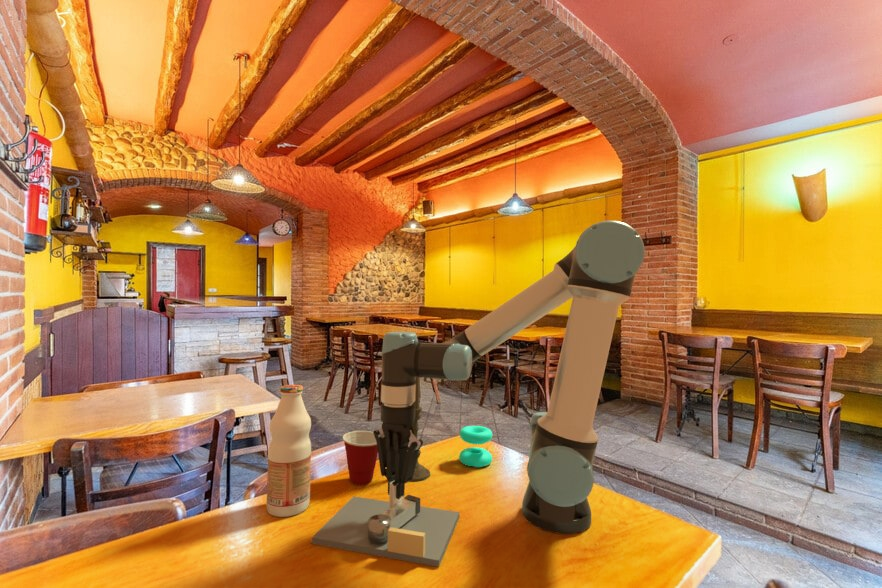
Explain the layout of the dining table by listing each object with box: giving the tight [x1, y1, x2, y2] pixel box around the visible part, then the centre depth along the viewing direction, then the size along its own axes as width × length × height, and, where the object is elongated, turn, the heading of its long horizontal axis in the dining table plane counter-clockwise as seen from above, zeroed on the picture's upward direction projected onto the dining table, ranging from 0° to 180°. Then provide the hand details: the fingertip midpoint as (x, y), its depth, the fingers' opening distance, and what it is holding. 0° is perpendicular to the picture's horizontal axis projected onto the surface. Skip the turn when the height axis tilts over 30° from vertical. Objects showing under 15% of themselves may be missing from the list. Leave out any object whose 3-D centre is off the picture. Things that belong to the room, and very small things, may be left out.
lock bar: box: [368, 494, 421, 543], centre depth 85 cm, size 14×4×3 cm, turn 150°
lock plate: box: [311, 496, 460, 568], centre depth 86 cm, size 26×18×5 cm
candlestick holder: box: [410, 377, 431, 482], centre depth 115 cm, size 9×9×30 cm
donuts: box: [458, 425, 493, 468], centre depth 124 cm, size 10×10×10 cm
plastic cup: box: [342, 430, 378, 486], centre depth 110 cm, size 11×11×12 cm
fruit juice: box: [266, 384, 312, 518], centre depth 95 cm, size 9×9×28 cm
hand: (395, 511), depth 89 cm, fingers closed
